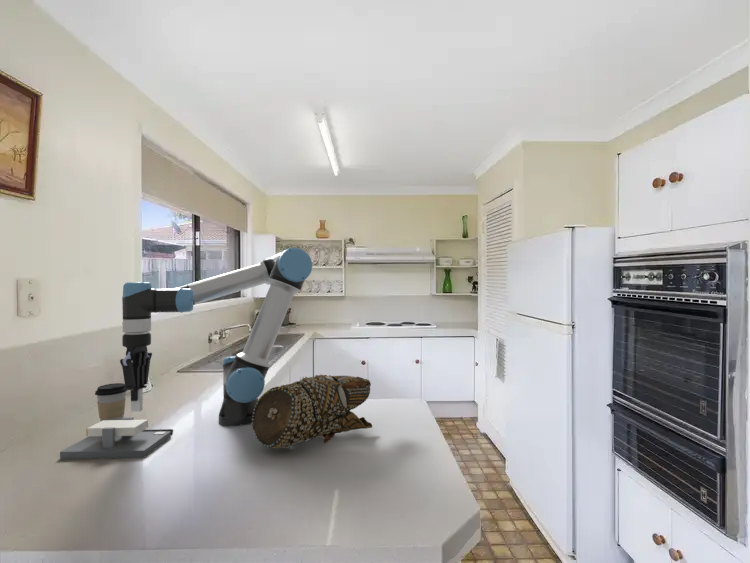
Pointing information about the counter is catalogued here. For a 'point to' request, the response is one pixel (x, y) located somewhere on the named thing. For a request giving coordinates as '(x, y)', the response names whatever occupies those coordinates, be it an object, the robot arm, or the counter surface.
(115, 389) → the coffee cup
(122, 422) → the plate
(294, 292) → the robot arm
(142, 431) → the cords
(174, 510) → the counter surface
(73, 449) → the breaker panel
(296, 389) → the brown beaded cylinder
